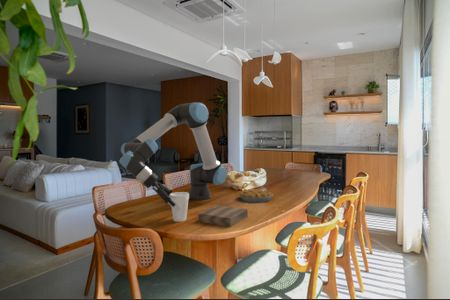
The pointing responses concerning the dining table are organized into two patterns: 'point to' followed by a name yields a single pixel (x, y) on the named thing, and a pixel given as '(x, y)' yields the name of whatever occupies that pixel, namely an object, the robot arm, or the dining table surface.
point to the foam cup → (182, 201)
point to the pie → (255, 195)
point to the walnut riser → (223, 215)
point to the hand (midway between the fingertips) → (179, 206)
